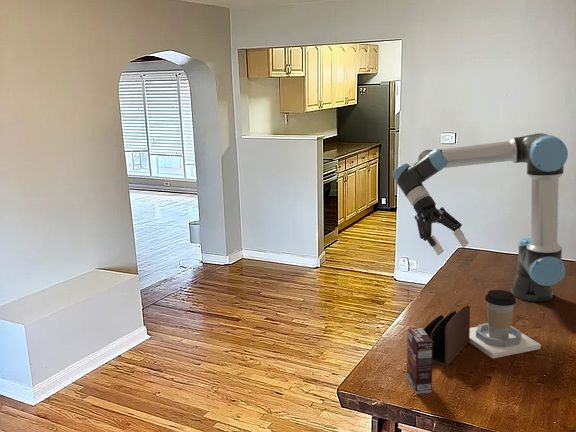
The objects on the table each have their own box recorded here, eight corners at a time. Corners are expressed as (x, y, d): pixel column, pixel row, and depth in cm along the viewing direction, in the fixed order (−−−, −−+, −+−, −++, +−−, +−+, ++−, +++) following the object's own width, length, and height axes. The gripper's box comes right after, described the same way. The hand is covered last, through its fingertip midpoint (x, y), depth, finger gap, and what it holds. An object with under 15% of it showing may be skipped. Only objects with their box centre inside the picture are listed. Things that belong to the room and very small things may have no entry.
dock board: (503, 326, 185) (503, 316, 185) (540, 348, 168) (541, 338, 168) (458, 334, 181) (458, 324, 180) (492, 358, 164) (492, 348, 163)
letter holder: (469, 342, 175) (471, 302, 172) (446, 367, 160) (448, 324, 157) (440, 334, 181) (442, 296, 178) (415, 358, 166) (416, 316, 163)
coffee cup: (516, 344, 169) (519, 300, 165) (485, 342, 171) (487, 299, 167) (510, 331, 178) (513, 289, 174) (480, 329, 180) (483, 288, 176)
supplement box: (405, 378, 154) (406, 328, 151) (422, 377, 155) (423, 327, 151) (415, 394, 146) (416, 342, 142) (432, 393, 146) (433, 340, 143)
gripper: (438, 202, 203) (469, 247, 195) (391, 212, 190) (423, 262, 181) (449, 190, 198) (482, 236, 189) (403, 200, 184) (436, 250, 176)
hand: (453, 249), depth 185 cm, fingers open, 13 cm apart
